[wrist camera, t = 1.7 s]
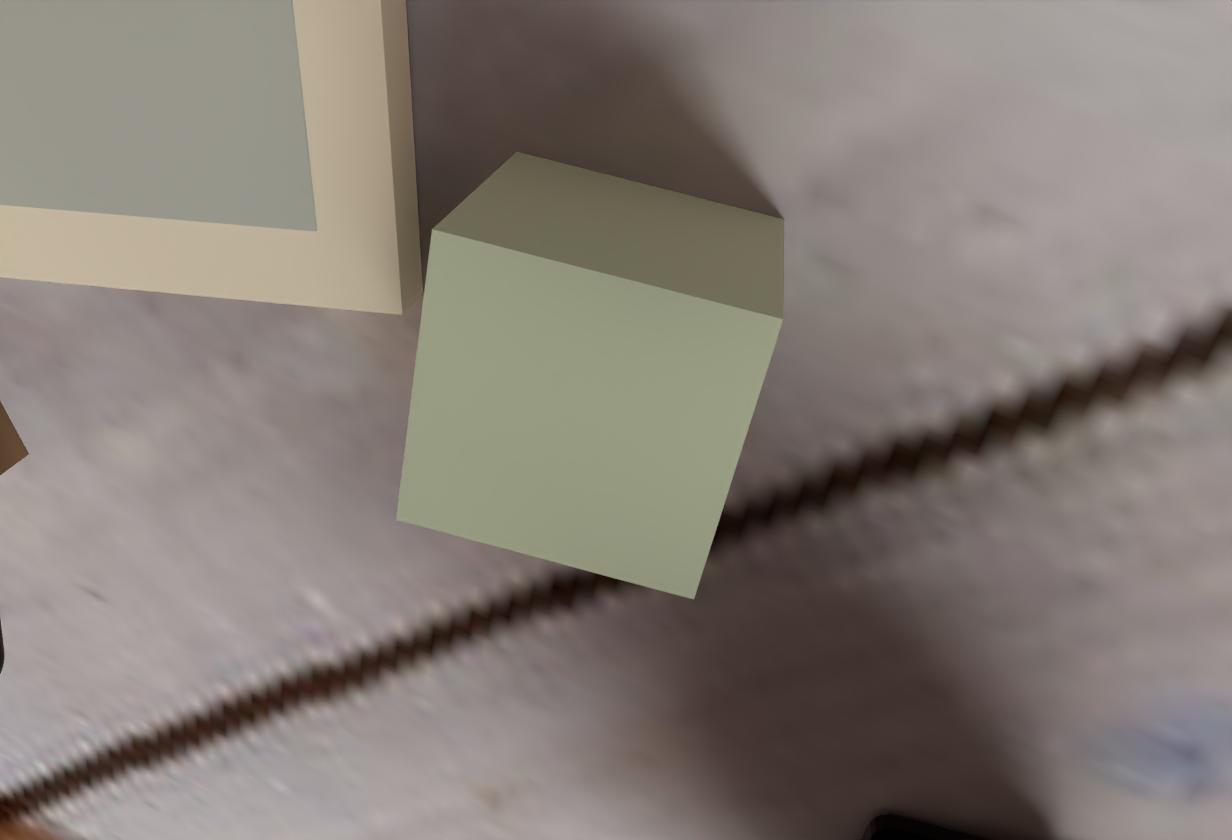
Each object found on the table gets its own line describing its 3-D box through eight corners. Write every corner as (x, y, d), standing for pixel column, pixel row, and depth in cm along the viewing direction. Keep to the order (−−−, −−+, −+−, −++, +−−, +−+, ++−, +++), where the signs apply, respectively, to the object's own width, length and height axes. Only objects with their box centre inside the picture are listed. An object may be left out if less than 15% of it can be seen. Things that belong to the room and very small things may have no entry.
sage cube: (713, 449, 20) (694, 599, 16) (479, 388, 20) (395, 519, 16) (783, 218, 18) (783, 319, 14) (517, 150, 18) (431, 229, 14)
